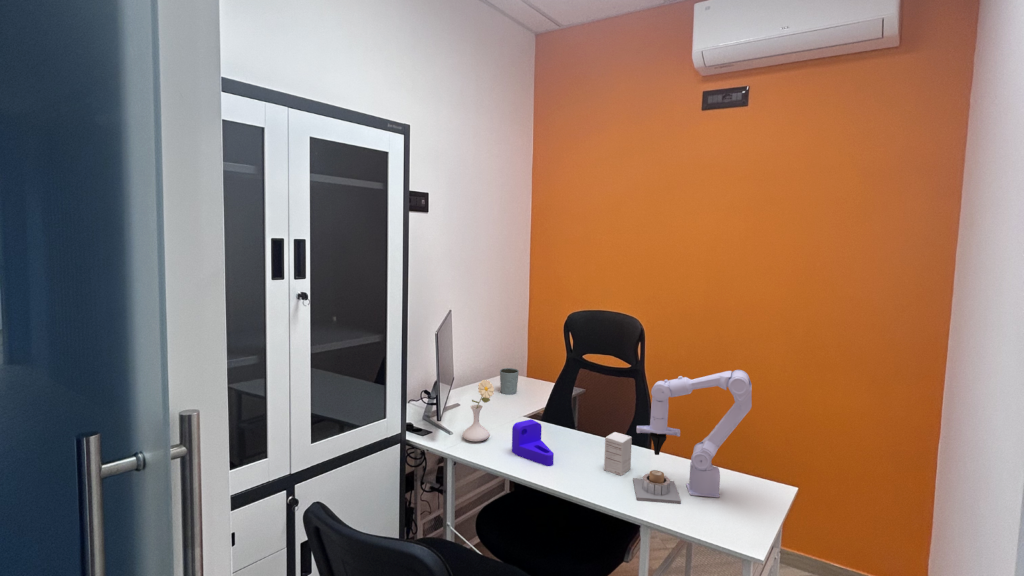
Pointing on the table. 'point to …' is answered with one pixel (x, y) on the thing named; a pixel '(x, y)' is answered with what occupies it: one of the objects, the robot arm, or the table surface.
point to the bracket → (530, 443)
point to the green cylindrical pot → (508, 381)
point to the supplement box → (617, 453)
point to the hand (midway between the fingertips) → (656, 453)
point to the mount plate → (645, 496)
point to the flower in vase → (476, 430)
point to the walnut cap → (656, 476)
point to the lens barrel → (656, 486)
